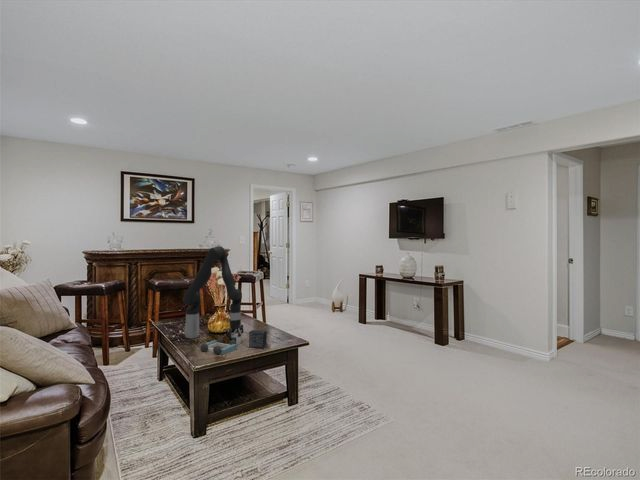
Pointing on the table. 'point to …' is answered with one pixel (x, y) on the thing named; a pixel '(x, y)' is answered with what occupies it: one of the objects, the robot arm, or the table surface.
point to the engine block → (237, 339)
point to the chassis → (216, 344)
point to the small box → (257, 339)
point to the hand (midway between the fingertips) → (235, 341)
